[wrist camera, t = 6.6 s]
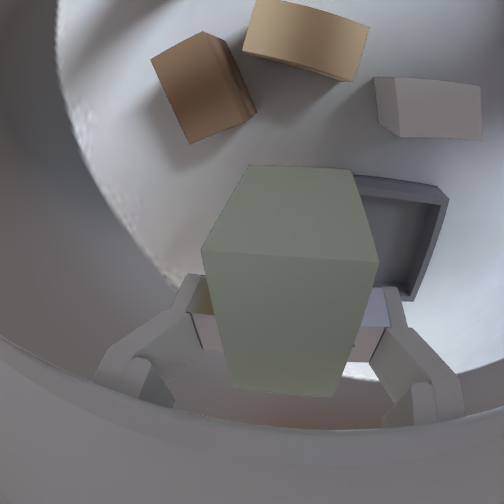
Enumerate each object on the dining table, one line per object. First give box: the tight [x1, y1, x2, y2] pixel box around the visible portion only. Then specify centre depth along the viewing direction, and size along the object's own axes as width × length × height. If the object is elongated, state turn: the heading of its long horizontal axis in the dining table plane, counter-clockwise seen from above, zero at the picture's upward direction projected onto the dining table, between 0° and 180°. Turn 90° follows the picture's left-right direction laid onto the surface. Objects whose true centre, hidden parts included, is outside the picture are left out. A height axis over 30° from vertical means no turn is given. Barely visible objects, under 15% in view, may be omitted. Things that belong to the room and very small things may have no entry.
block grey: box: [373, 77, 482, 141], centre depth 13 cm, size 6×4×5 cm, turn 101°
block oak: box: [242, 0, 370, 82], centre depth 13 cm, size 6×4×5 cm, turn 76°
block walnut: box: [150, 31, 257, 144], centre depth 15 cm, size 6×4×5 cm, turn 21°
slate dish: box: [352, 174, 449, 302], centre depth 21 cm, size 10×10×2 cm
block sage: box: [201, 165, 379, 397], centre depth 9 cm, size 6×4×5 cm, turn 3°
